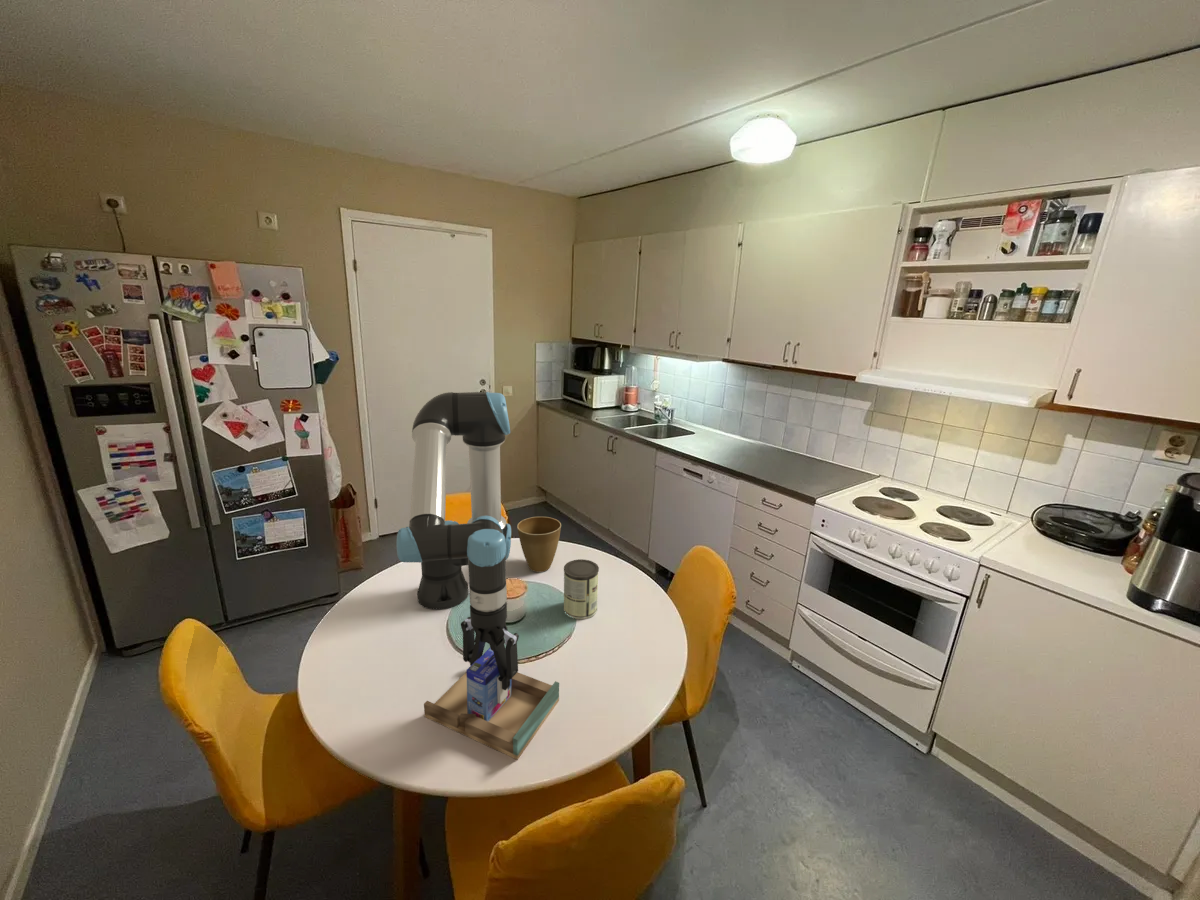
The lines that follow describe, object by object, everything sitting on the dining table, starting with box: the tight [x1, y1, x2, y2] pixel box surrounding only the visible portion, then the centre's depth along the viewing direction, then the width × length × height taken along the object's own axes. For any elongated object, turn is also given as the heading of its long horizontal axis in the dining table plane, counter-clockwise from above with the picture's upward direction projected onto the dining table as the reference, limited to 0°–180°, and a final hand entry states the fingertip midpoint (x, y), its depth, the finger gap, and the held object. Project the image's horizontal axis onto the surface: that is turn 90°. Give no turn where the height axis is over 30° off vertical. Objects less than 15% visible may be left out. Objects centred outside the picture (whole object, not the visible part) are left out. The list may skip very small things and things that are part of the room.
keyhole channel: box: [423, 671, 560, 761], centre depth 107 cm, size 24×17×5 cm
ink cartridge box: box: [465, 647, 512, 721], centre depth 106 cm, size 10×6×14 cm, turn 155°
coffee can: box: [563, 558, 600, 620], centre depth 143 cm, size 10×10×14 cm
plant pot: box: [516, 516, 562, 573], centre depth 166 cm, size 15×15×16 cm
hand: (491, 693), depth 107 cm, fingers open, 5 cm apart
